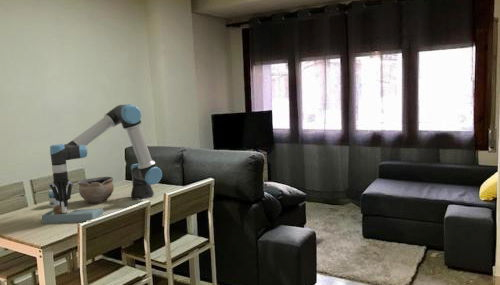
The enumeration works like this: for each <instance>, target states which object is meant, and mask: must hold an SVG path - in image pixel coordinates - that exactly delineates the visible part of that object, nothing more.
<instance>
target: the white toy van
mask: <svg viewBox="0 0 500 285" xmlns="http://www.w3.org/2000/svg"><path fill="white" fill-rule="evenodd" d="M56 189H57V187H56ZM67 190H68V187H67V188H66V191H67ZM57 192H58V190H57ZM47 194H48V202H49V203H48V204H49V207H50V208H53V207H55V206H57V205H60V202H59V201H56V199H55V196H54V194H53V191H52V189H49V190H47ZM62 194H63V193H62ZM68 203H69V200H67V204H68Z"/></svg>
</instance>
